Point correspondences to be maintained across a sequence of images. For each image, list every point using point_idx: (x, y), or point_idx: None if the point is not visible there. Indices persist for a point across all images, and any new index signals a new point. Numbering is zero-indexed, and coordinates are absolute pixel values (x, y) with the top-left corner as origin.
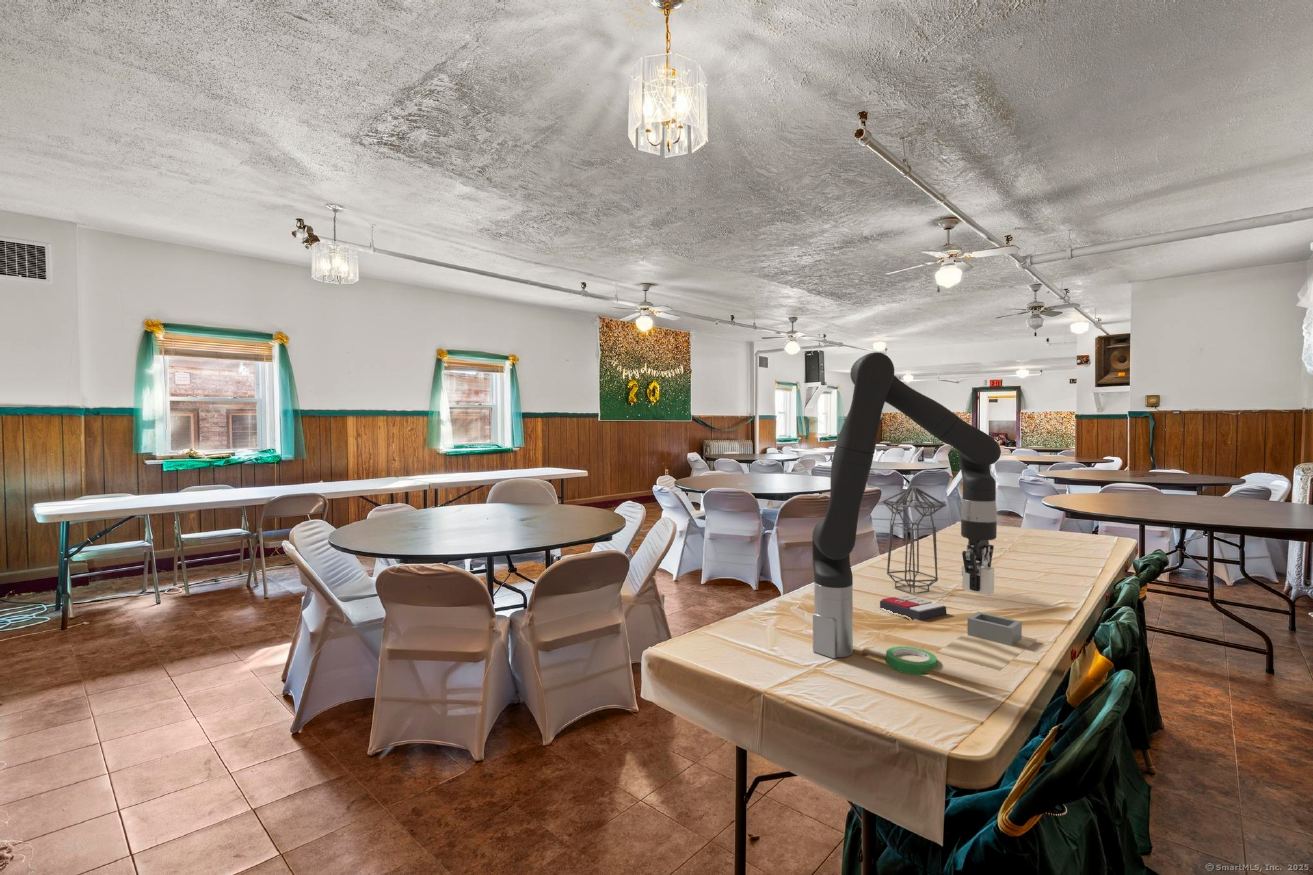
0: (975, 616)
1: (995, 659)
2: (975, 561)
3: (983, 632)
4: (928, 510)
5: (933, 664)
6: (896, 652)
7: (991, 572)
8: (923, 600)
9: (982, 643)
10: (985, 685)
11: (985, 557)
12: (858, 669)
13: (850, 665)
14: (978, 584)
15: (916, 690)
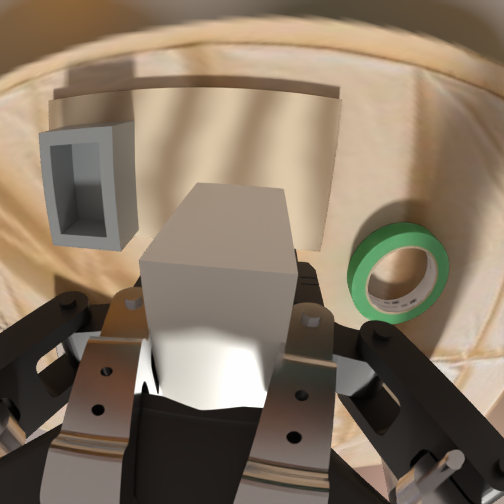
0: (90, 239)
1: (268, 122)
2: (450, 416)
3: (128, 197)
4: None
5: (423, 231)
6: (387, 308)
7: (226, 250)
8: (62, 352)
9: (169, 182)
10: (418, 118)
11: (136, 408)
12: (452, 322)
13: (442, 336)
14: (298, 272)
15: (494, 225)
